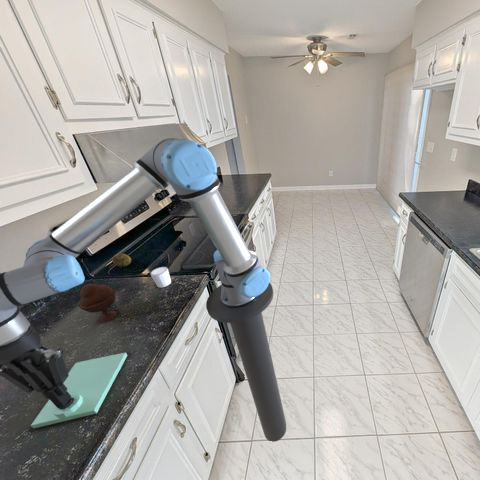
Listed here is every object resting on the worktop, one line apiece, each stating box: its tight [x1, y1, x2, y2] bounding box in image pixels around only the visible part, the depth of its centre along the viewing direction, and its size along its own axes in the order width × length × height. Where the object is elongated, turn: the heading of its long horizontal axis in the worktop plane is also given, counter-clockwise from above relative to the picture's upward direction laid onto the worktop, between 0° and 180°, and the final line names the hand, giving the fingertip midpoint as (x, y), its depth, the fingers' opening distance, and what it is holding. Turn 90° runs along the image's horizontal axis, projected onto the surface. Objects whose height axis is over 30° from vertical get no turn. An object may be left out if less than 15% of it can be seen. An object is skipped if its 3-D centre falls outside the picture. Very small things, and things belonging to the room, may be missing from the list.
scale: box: [30, 351, 128, 429], centre depth 71 cm, size 14×18×3 cm
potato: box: [111, 253, 132, 268], centre depth 129 cm, size 8×13×8 cm, turn 23°
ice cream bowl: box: [77, 283, 118, 323], centre depth 94 cm, size 11×11×15 cm
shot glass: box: [149, 266, 172, 289], centre depth 113 cm, size 7×7×7 cm
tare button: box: [61, 398, 73, 409], centre depth 65 cm, size 2×2×2 cm
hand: (64, 402), depth 65 cm, fingers closed
